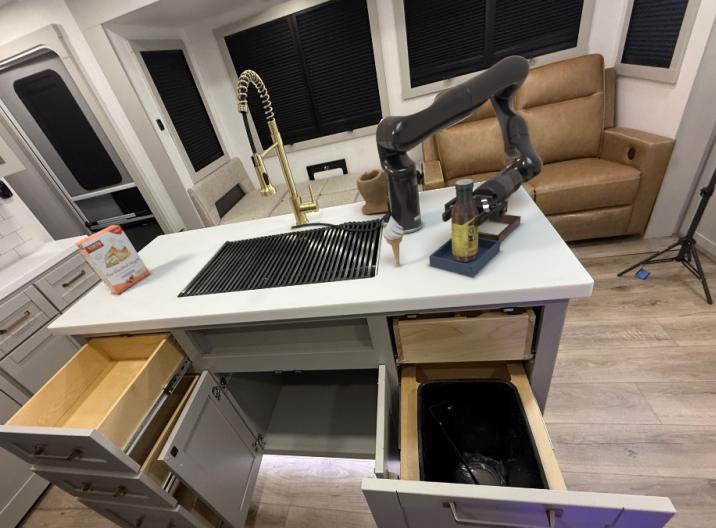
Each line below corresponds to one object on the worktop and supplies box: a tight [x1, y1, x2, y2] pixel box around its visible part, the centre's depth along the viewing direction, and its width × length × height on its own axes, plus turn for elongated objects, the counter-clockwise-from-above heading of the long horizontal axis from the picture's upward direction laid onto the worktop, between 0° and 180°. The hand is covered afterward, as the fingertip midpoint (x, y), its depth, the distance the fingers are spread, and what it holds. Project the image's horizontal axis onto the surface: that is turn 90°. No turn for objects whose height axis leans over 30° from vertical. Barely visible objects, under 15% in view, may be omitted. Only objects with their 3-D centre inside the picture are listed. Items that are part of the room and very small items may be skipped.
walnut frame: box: [478, 213, 522, 244], centre depth 97 cm, size 13×13×2 cm
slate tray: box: [428, 237, 501, 278], centre depth 88 cm, size 12×13×3 cm
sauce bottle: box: [450, 178, 479, 262], centre depth 83 cm, size 7×6×20 cm
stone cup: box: [356, 168, 389, 215], centre depth 123 cm, size 15×12×15 cm
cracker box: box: [75, 224, 151, 295], centre depth 123 cm, size 14×6×21 cm, turn 148°
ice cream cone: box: [382, 216, 405, 267], centre depth 90 cm, size 6×6×15 cm
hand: (459, 220), depth 81 cm, fingers open, 8 cm apart
